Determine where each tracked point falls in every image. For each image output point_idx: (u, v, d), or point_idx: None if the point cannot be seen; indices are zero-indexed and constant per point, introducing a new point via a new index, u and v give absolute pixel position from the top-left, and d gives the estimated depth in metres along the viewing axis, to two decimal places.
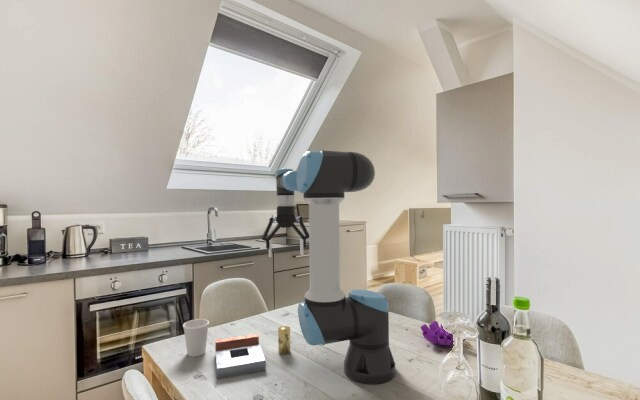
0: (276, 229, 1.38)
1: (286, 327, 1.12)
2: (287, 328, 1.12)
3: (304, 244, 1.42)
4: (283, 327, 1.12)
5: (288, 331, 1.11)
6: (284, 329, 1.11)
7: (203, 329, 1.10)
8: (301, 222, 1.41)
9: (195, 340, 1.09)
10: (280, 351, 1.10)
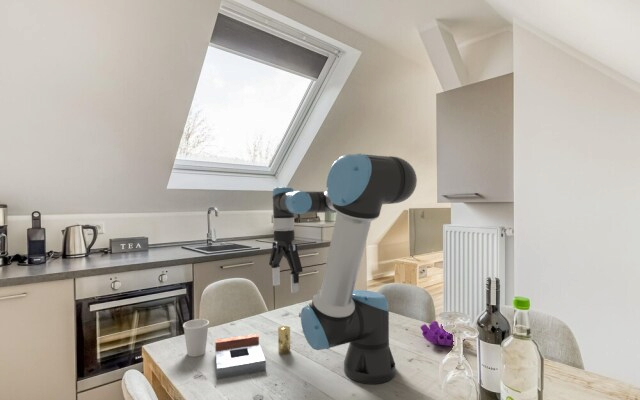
0: (276, 256, 1.23)
1: (286, 327, 1.12)
2: (287, 328, 1.12)
3: (294, 280, 1.13)
4: (283, 327, 1.12)
5: (288, 331, 1.11)
6: (284, 329, 1.11)
7: (203, 329, 1.10)
8: (290, 252, 1.14)
9: (195, 340, 1.09)
10: (280, 351, 1.10)
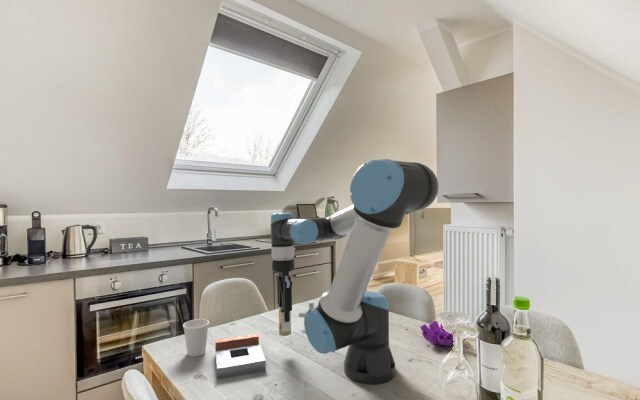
0: (279, 290, 1.13)
1: None
2: None
3: (284, 318, 1.08)
4: None
5: None
6: None
7: (203, 329, 1.10)
8: (283, 288, 1.06)
9: (195, 340, 1.09)
10: (281, 332, 1.10)
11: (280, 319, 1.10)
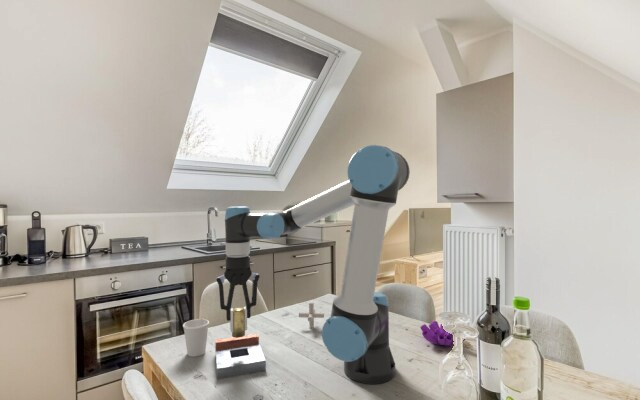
0: (231, 291, 1.03)
1: (237, 309, 1.06)
2: (240, 308, 1.06)
3: (248, 314, 1.06)
4: (236, 310, 1.05)
5: None
6: (241, 309, 1.05)
7: (203, 329, 1.10)
8: (255, 282, 1.06)
9: (195, 340, 1.09)
10: (242, 333, 1.04)
11: (242, 319, 1.04)
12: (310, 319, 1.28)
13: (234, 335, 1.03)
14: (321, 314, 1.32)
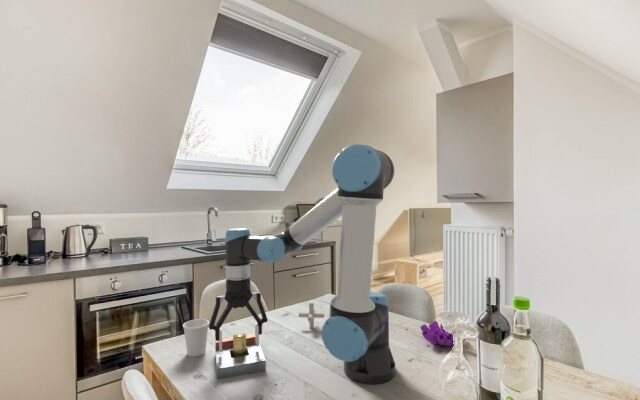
0: (226, 312, 1.03)
1: (238, 334, 1.06)
2: (241, 334, 1.06)
3: (260, 331, 1.07)
4: (237, 335, 1.05)
5: None
6: (242, 335, 1.05)
7: (203, 329, 1.10)
8: (259, 300, 1.06)
9: (195, 340, 1.09)
10: None
11: (243, 345, 1.04)
12: (310, 319, 1.28)
13: None
14: (321, 314, 1.32)
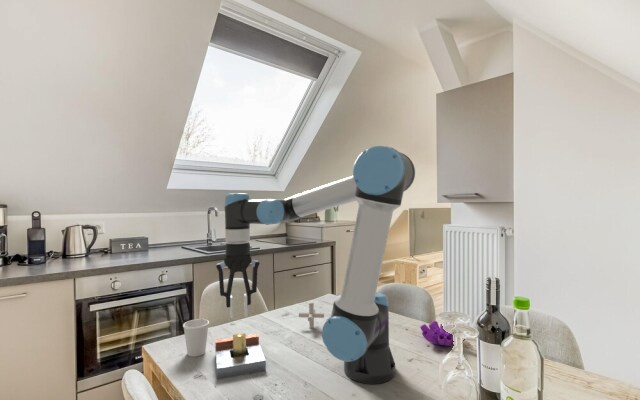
0: (231, 277, 1.03)
1: (237, 334, 1.06)
2: (241, 333, 1.06)
3: (249, 301, 1.06)
4: (237, 335, 1.05)
5: None
6: (242, 335, 1.05)
7: (203, 329, 1.10)
8: (255, 269, 1.06)
9: (195, 340, 1.09)
10: None
11: (243, 345, 1.04)
12: (310, 319, 1.28)
13: None
14: (321, 314, 1.32)
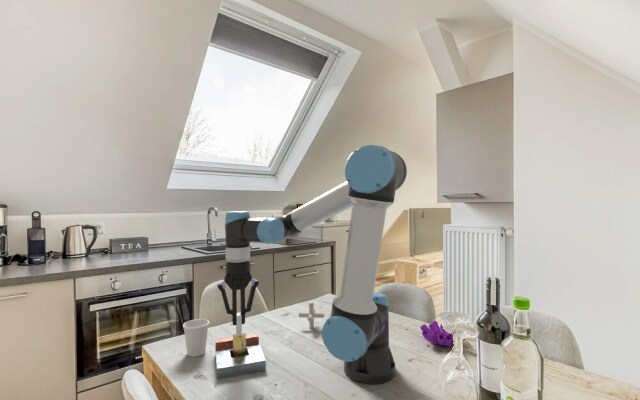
0: (234, 296, 1.04)
1: None
2: None
3: (243, 320, 1.05)
4: None
5: None
6: (242, 334, 1.05)
7: (203, 329, 1.10)
8: (253, 288, 1.06)
9: (195, 340, 1.09)
10: None
11: (243, 345, 1.04)
12: (310, 319, 1.28)
13: None
14: (321, 314, 1.32)
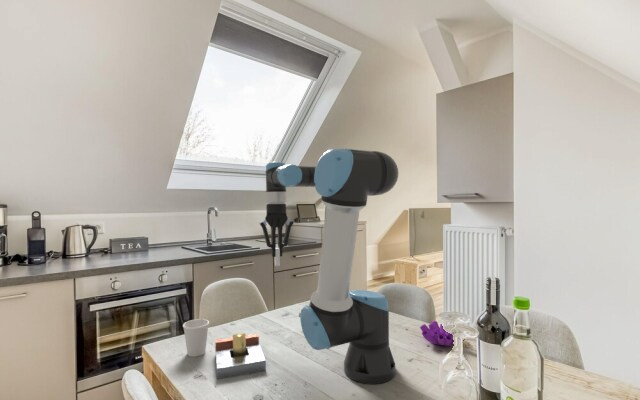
0: (273, 232, 1.25)
1: (237, 334, 1.06)
2: (241, 333, 1.06)
3: (280, 253, 1.26)
4: (236, 335, 1.05)
5: None
6: (242, 335, 1.05)
7: (203, 329, 1.10)
8: (289, 227, 1.27)
9: (195, 340, 1.09)
10: None
11: (242, 345, 1.04)
12: None
13: None
14: None
